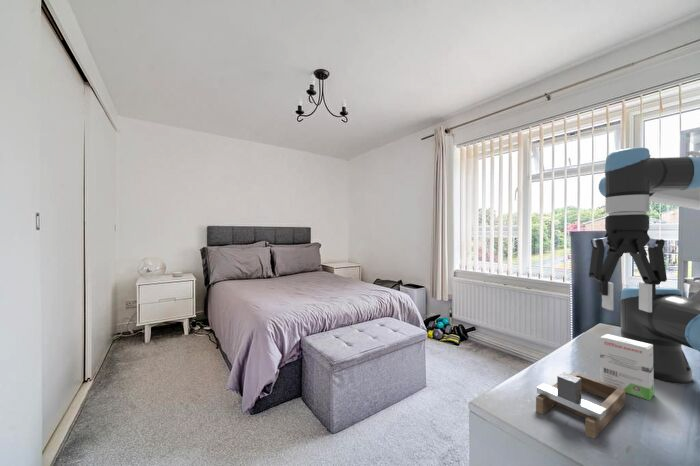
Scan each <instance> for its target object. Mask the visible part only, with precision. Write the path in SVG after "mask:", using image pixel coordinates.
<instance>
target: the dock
mask: <svg viewBox="0 0 700 466" xmlns="http://www.w3.org/2000/svg"><path fill="white" fill-rule="evenodd" d="M569 374H570V375H573V376H576V377H578V378H581V391H584V392H587V393H591V394H593V395H595V396H598V397H601V398H603V399H605V400H603V401H602V402H601V404H599V406H601V407H603V408H606V415H605V416H604V417H603V418H602V419H601V421H600V420H598V419H595V418H593V417H591V416H589V415H586V414H584V413H582V412H579V411H577V410H575V409H573V408H570V407H568V406H566V405H563V404H561V403H559V402H557V401H554V400H552V399H550V398H548V397H545V396H543V395H541V394H538V395H537V396H535V412H537V413H539V414H541V415H544V414H545V413H547V411H549V410H550V409H552V408H553V407H554V406H558V407H560V408H561V409H564V410H567V411H569V412H571V413H574V414H575V415H578V416H579V417H583V418H585V420H584V421H585V422H584V423H585V424H584V428H585V429H584V432H585V433H584V434H585V436H587V437H590V438H592V439H595V438H596V437H597V436H598V435H599V434H600V433H601V432H602V431H603V429H605V427H607V425H608V424H609V423H610V422H611V421H612V419H613V418H614V417H615V416H616V415H617V414H618V413H619V412H620V411H621V410H622V409H623V407H624V406H625V405H626V404H627V403H626V402H627V401H626V400H627V399H626V398H627V397H626V396H627V393H626V390H624V389H621V388H618V387H615V386H612V385H610V384H607V383H604V382H601V380H597V379H596V378H595V379H594V378H592V377H589V376H586V375H583V374H580V373H578V372H574V371H573V372H571V373H569ZM551 386H552V387H554V388H556V389H557V382H556V383H555V384H553V385H551Z"/></svg>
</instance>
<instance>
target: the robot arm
mask: <svg viewBox="0 0 700 466" xmlns="http://www.w3.org/2000/svg"><path fill="white" fill-rule="evenodd" d="M604 166H605V167H604V176H603V177H602V178H601V179H600V181H599V184H598V190H599V193H600V194H601V195H602V196H603V197H604V198H605V206H604V207H605V208H604V209H605V214H607V216H605V218H604V221H605V222H604V229H605V232H606V233H605V235H604V237H602V238H601V237H600V238H592V239H590V244H591V248H592V249H591V250H592V251H591V258H590V265H589V269H588V270H589V272H588V277H589V278H590V279H593V280H596V281H597V282H598V294H599V295H600V296H601V308H603V309H606V310H608V311H614V283H613V282H610V281H611V278H612V276H613V274H614V271H615V269H616V267H617V265H618V264H619V263H618V262H619V260H620V258H621V257H623V255H624V254H629V256H630V257H632V260H633V261H634V265H636V268H637V270H638V273H639V275H640V277H641V279H642V281H643V282H638V286H626V287H623V288H622V289H621V292H620V298H619V301H620V336H619V337H623V338H627V339H631V340H635V341H640V342H644V343H648V344H652V345H653V372H654V380H659V381H662V382H671V383H681V384H682V383H683V384H685V383H690V382H692V380H693V371H692V369H691V366H690V364H689V361H688V359H687V356H686V355H685V353H684V350H683V346H684V347H687V348H691V349H693V350H695V351H698V352H699V353H700V289H699V290H698V291H696V292H694V294H692V295H691V296H689V297H685V296H683V295H684V294H683V293H682V290H681V289H678V288H669V287H668V288H666V287H657V286H658V285H661V283H663V282H664V283H665V282H666V281H668V279H667V271H666V269H667V268H666V263H665V255H664V246H665V243H666V241H665V240H664V239H662V238H659V239H658V238H651V237H650V235H649V234H648V231H649V230H650V215H649V214H647V213H649V212H650V211H651V210H650V202H652V203H657V204H662V205H663V204H664V205H669V206H674V207H680V208H686V209H690V210H691V209H692V210H696V211H697V210H698V211H700V157H699V156H698V157H697V156H681V157H680V156H677V157H675V156H674V157H673V156H672V157H651V154H650V150H649V148H646V147H630V148H625V149H619V150H615V151H612V152H611V153H609V154H608V155H607V156H606V159H605V165H604ZM607 245H608V249H607V251H606V257H605V250H606V249H605V247H606V246H607ZM646 246H647V250H646V248H645V247H646ZM647 252H648V253H647ZM647 256H648V257H647ZM604 257H605V258H604ZM604 259H605V260H604Z"/></svg>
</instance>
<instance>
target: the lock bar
mask: <svg viewBox="0 0 700 466" xmlns="http://www.w3.org/2000/svg"><path fill="white" fill-rule="evenodd" d="M570 374H571V373H567V372H562V373H560V374H558V375H557V377H556V378H557V380H556V383H557V389H556V388H554V387H552V386H553V385H549V384H546V383H541V384H540V385H538V386H536V393H537V394H538V395H540V394H541V395H543V396H545V397H548V398H550V399H552V400H554V401H557V402H559V403H561V404H563V405H566V406H568V407H570V408H573V409H575V410H577V411H579V412H582V413H584V414H586V415H589V416H591V417H593V418H595V419H598V420H600V421H601V419H602V418H603V417H604V416H605V415H606V408H603V407H601V406H600V405H599V404H596V403H593V402H591V401H589V400H586V399H583V398H582V389H581V378H578V377H576V376H573V375H570Z"/></svg>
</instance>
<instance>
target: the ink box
mask: <svg viewBox="0 0 700 466" xmlns="http://www.w3.org/2000/svg"><path fill="white" fill-rule="evenodd" d="M599 344H600V345H599V350H600V351H599V359H600V361H599V367H600V369H599V371H600V372H599V373H600V374H599V375H600V381H601V382H604V383H607V384H610V385H612V386H615V387H618V388H621V389H624V390H626V394H630V395H632V396H635V397H638V398H641V399H644V400H647V401H651V399H652V398H653V396H654V395H655V389H654V388H655V382H654V380H655V379H654V372H653V345H652V344H648V343H644V342H640V341H635V340H631V339H627V338H623V337H620V336H618V335H615V334H614V335H613V334H609V333H606V334H604V335H602V336H600V337H599Z"/></svg>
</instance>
